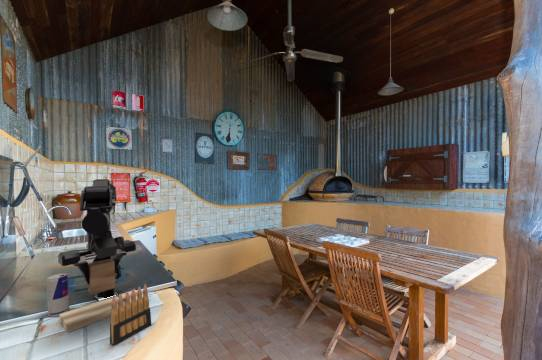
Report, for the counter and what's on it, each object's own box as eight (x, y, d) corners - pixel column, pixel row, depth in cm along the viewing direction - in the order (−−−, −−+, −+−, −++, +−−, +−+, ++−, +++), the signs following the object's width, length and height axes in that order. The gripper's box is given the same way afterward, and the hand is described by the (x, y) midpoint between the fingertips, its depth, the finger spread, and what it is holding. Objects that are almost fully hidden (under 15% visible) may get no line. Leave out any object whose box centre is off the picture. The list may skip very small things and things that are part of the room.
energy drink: (70, 312, 84) (69, 275, 84) (49, 319, 81) (47, 280, 81) (67, 307, 88) (66, 271, 88) (46, 313, 84) (45, 276, 84)
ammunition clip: (113, 346, 66) (112, 299, 66) (109, 344, 67) (107, 297, 67) (151, 325, 75) (150, 283, 75) (147, 323, 76) (146, 282, 76)
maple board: (59, 320, 79) (59, 313, 79) (135, 294, 96) (134, 289, 96) (67, 332, 73) (67, 325, 73) (147, 302, 90) (147, 296, 89)
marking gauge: (79, 283, 82) (78, 258, 82) (101, 277, 87) (100, 253, 87) (91, 294, 74) (90, 266, 74) (115, 287, 78) (114, 261, 78)
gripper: (65, 237, 65) (68, 299, 65) (142, 225, 79) (144, 276, 79) (56, 232, 73) (58, 288, 73) (128, 222, 87) (130, 269, 87)
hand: (100, 280), depth 78 cm, fingers closed on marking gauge, 6 cm apart
